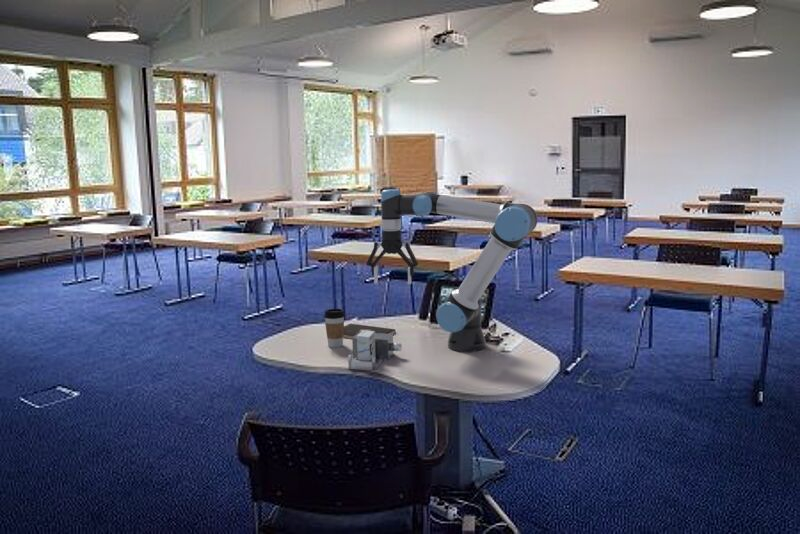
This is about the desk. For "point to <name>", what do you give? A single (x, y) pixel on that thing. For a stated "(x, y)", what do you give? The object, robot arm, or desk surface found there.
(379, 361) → the clip bracket
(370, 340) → the ink box
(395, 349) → the motor block
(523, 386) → the desk surface
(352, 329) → the hardcover book
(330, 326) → the coffee cup
